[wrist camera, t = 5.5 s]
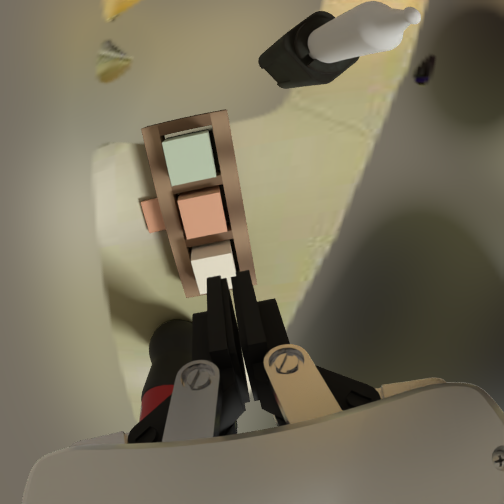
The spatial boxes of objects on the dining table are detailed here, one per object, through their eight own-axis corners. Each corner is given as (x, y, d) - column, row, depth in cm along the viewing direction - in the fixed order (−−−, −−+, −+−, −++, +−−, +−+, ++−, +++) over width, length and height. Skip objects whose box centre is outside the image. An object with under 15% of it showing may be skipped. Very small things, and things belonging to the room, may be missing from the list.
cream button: (192, 245, 38) (190, 260, 35) (229, 237, 38) (231, 253, 35) (200, 276, 40) (200, 294, 37) (235, 270, 40) (238, 287, 37)
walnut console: (146, 126, 33) (141, 128, 30) (225, 109, 33) (226, 110, 30) (187, 285, 42) (186, 297, 40) (254, 272, 43) (257, 284, 40)
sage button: (167, 138, 32) (161, 142, 29) (208, 129, 32) (207, 132, 29) (175, 177, 34) (171, 186, 31) (215, 168, 34) (216, 176, 31)
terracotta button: (180, 190, 36) (177, 201, 33) (218, 182, 37) (219, 192, 33) (189, 225, 38) (187, 239, 35) (225, 218, 39) (227, 231, 35)
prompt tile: (141, 201, 36) (140, 202, 36) (160, 196, 37) (159, 198, 36) (150, 231, 38) (149, 233, 38) (168, 227, 38) (168, 229, 38)
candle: (253, 60, 31) (339, -9, 9) (287, 34, 30) (412, -49, 8) (284, 92, 33) (415, 89, 11) (316, 66, 32) (474, 39, 10)
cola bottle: (152, 353, 47) (135, 539, 21) (151, 311, 44) (121, 521, 17) (205, 357, 49) (216, 544, 22) (210, 316, 45) (225, 529, 19)
